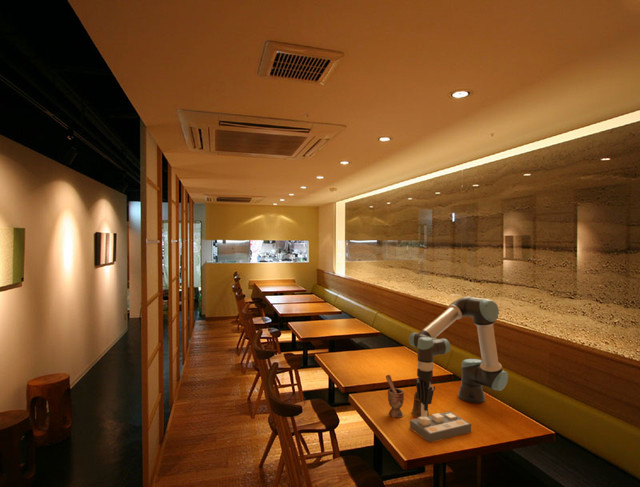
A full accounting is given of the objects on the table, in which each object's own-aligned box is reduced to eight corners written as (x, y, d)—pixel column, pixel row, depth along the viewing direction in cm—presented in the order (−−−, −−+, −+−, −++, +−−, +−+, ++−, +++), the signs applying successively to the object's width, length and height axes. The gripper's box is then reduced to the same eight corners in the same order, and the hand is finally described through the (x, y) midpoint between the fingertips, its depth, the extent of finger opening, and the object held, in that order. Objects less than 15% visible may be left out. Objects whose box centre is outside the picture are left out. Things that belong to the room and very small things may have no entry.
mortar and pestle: (379, 413, 207) (380, 377, 207) (387, 408, 214) (387, 373, 213) (399, 419, 200) (399, 382, 200) (406, 414, 206) (406, 377, 206)
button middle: (438, 420, 194) (438, 413, 194) (443, 424, 190) (443, 416, 190) (431, 422, 192) (432, 414, 192) (437, 425, 189) (437, 417, 188)
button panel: (449, 418, 201) (449, 411, 201) (471, 432, 188) (471, 423, 188) (409, 427, 191) (410, 419, 191) (429, 442, 177) (429, 433, 177)
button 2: (450, 420, 197) (450, 413, 197) (456, 424, 193) (456, 416, 193) (444, 422, 196) (445, 414, 196) (450, 425, 192) (450, 417, 192)
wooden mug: (435, 411, 210) (436, 379, 210) (423, 419, 200) (423, 385, 200) (421, 406, 216) (422, 375, 216) (408, 413, 207) (409, 381, 207)
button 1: (424, 423, 190) (424, 415, 190) (430, 427, 187) (430, 419, 187) (418, 425, 189) (418, 417, 189) (423, 428, 185) (423, 420, 185)
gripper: (410, 365, 192) (410, 411, 192) (427, 374, 180) (426, 423, 180) (422, 364, 195) (421, 409, 195) (439, 372, 183) (439, 420, 183)
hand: (424, 416), depth 188 cm, fingers closed
